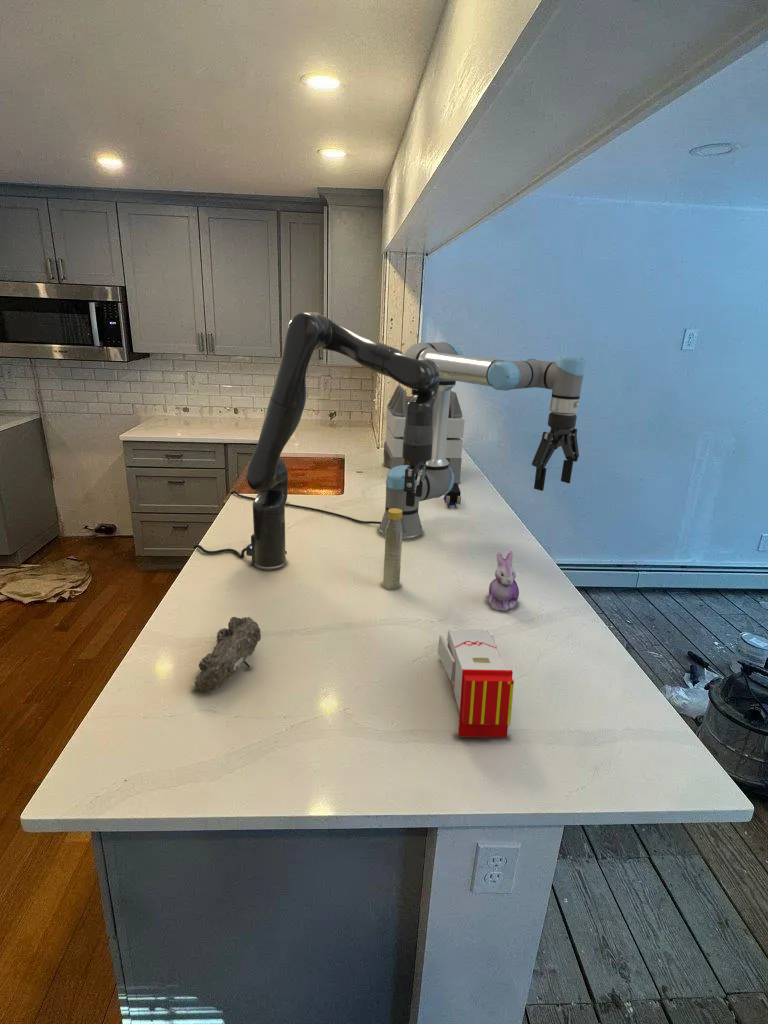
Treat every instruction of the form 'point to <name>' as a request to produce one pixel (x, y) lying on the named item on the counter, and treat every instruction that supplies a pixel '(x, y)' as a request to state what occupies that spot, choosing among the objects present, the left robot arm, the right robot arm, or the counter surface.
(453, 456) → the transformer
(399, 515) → the cap
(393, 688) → the counter surface
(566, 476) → the right robot arm
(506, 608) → the figurine
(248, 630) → the fossil
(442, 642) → the toy
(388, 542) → the bottle
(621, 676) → the counter surface
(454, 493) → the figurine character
